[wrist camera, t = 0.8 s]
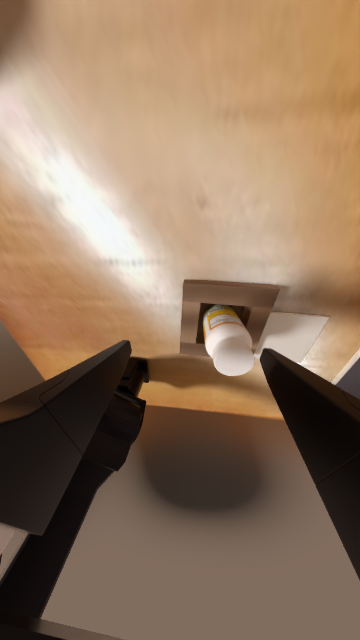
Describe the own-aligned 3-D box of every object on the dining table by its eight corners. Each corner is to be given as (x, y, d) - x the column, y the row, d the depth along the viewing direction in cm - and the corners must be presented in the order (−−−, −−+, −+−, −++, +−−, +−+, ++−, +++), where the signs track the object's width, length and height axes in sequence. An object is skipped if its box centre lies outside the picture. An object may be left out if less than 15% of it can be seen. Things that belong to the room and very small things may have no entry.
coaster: (298, 360, 24) (300, 362, 24) (247, 355, 25) (248, 357, 24) (325, 315, 20) (329, 317, 19) (263, 311, 21) (265, 312, 20)
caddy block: (246, 350, 24) (251, 360, 22) (180, 344, 25) (179, 353, 23) (269, 284, 19) (279, 289, 16) (184, 279, 19) (183, 283, 17)
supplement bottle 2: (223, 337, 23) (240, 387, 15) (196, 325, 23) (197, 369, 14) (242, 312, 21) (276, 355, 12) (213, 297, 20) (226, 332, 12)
